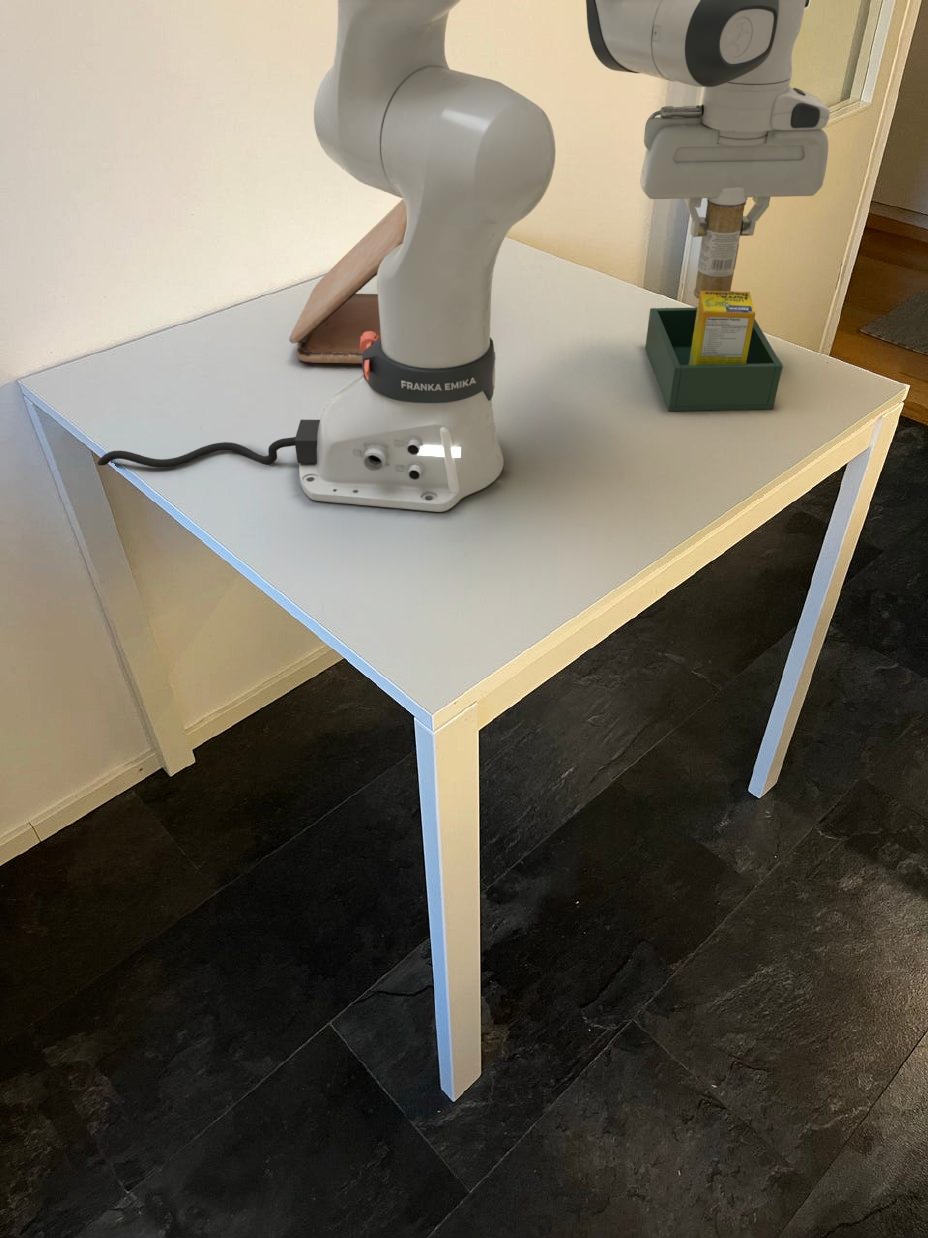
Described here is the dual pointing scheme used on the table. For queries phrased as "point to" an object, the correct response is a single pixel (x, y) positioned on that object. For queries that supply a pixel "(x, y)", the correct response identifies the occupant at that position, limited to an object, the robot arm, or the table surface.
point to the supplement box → (722, 328)
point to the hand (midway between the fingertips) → (721, 234)
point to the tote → (708, 368)
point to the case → (347, 298)
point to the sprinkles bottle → (720, 241)
